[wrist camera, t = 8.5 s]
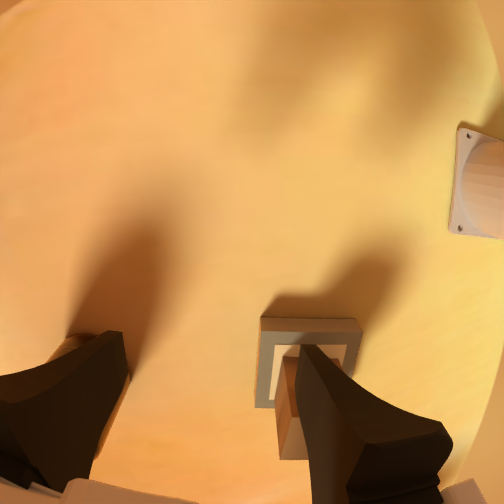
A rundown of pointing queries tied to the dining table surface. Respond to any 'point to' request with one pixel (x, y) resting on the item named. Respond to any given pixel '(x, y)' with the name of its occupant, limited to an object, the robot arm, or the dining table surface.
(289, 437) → the walnut block
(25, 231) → the dining table surface
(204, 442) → the dining table surface
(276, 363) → the base tile
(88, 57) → the dining table surface
